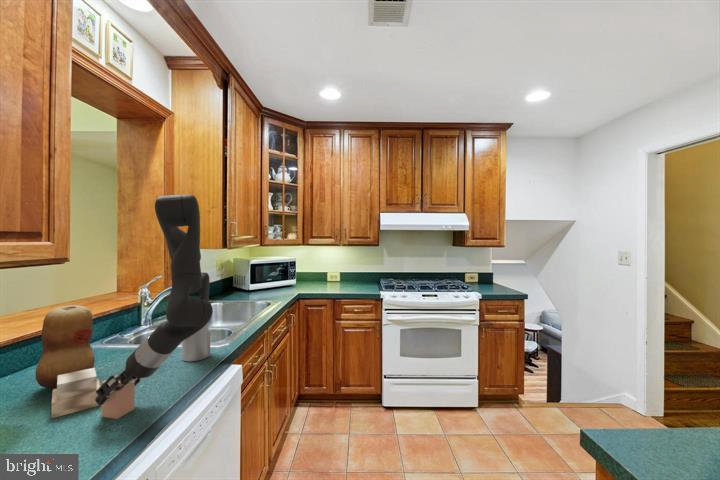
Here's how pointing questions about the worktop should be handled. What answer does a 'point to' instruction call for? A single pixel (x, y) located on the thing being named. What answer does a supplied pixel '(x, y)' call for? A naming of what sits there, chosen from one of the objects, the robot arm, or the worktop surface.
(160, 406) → the worktop surface
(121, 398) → the salmon pink rectangular block
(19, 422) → the worktop surface
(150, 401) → the worktop surface
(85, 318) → the butternut squash
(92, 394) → the beige stepped block
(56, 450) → the worktop surface
